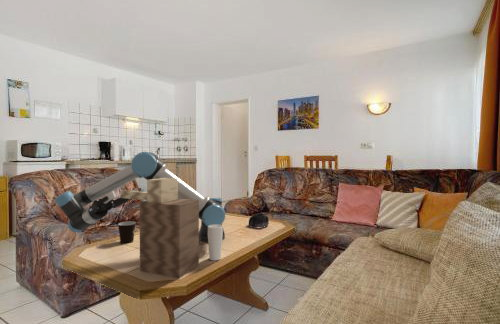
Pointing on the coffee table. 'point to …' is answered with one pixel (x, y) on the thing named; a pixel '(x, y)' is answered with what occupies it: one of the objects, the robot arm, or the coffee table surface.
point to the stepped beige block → (155, 191)
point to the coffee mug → (126, 232)
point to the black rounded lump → (258, 220)
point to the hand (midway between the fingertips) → (126, 192)
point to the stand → (169, 237)
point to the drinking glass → (215, 241)
